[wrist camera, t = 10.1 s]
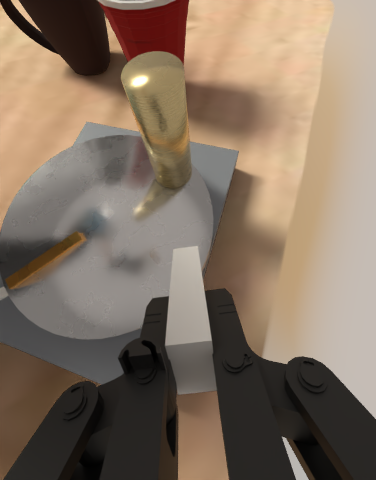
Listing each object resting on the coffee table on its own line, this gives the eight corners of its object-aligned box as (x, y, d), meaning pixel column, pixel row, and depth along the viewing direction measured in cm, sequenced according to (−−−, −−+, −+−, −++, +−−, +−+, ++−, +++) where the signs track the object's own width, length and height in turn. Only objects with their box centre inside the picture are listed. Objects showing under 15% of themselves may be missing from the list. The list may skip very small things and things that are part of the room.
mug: (116, 83, 33) (71, -34, 22) (36, 85, 35) (-46, -24, 23) (126, 43, 36) (91, -77, 25) (52, 47, 38) (-13, -66, 26)
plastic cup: (206, 72, 33) (208, -54, 21) (186, 123, 30) (175, 8, 18) (143, 64, 34) (114, -57, 23) (118, 111, 31) (69, -2, 20)
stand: (170, 395, 19) (163, 412, 16) (-4, 325, 22) (-38, 328, 19) (235, 168, 27) (239, 149, 23) (97, 139, 30) (85, 119, 27)
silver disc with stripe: (16, 361, 18) (-267, 439, 7) (23, 174, 24) (-120, 67, 14) (239, 304, 18) (291, 296, 7) (186, 134, 25) (173, -3, 14)
